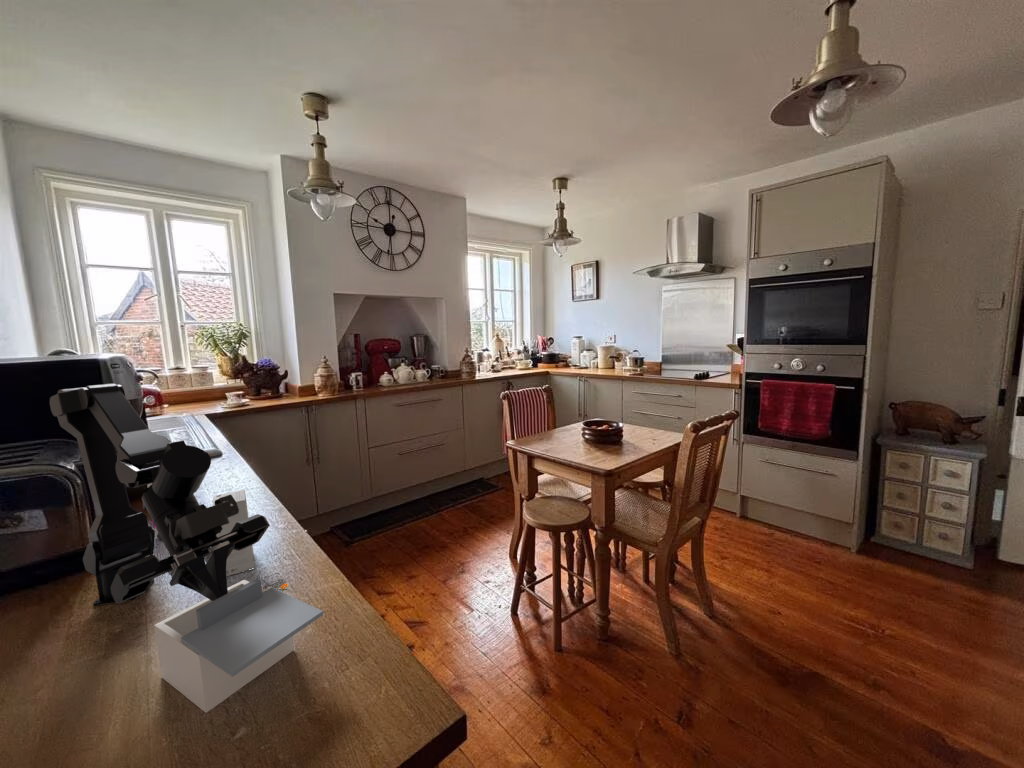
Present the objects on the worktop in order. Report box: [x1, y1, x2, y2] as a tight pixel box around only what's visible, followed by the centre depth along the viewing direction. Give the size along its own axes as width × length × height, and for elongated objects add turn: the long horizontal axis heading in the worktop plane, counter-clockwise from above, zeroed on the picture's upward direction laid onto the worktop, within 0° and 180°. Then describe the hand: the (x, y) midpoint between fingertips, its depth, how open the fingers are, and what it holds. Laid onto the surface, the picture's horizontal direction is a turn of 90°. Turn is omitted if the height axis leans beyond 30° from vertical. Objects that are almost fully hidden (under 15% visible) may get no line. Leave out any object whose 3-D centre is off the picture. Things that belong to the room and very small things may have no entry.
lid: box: [181, 578, 324, 677], centre depth 56 cm, size 12×12×3 cm
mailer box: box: [153, 579, 295, 714], centre depth 61 cm, size 12×12×8 cm
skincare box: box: [211, 489, 255, 578], centre depth 87 cm, size 8×6×15 cm
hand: (224, 603), depth 60 cm, fingers closed
